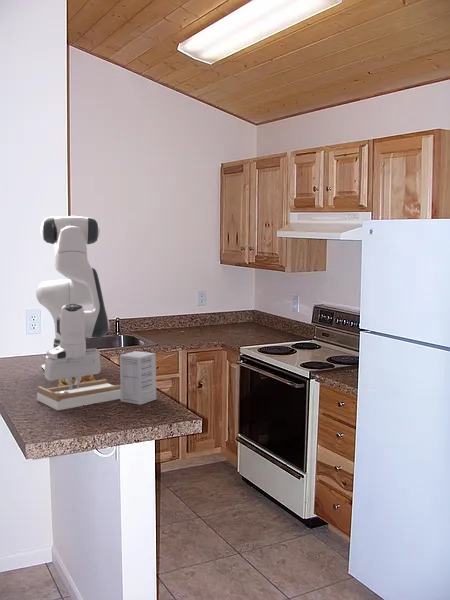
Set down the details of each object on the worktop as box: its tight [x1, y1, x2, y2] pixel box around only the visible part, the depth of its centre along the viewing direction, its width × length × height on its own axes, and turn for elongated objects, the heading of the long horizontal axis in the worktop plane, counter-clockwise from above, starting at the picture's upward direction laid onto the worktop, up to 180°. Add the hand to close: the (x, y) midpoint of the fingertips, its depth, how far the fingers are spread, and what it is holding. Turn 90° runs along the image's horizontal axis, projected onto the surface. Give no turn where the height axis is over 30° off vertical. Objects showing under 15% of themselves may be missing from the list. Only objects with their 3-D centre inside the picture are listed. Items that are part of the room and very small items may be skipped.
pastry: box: [57, 374, 97, 387], centre depth 242 cm, size 13×15×8 cm
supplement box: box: [119, 350, 157, 406], centre depth 224 cm, size 10×9×17 cm
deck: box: [36, 378, 121, 411], centre depth 226 cm, size 16×26×5 cm, turn 130°
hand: (73, 389), depth 224 cm, fingers closed
